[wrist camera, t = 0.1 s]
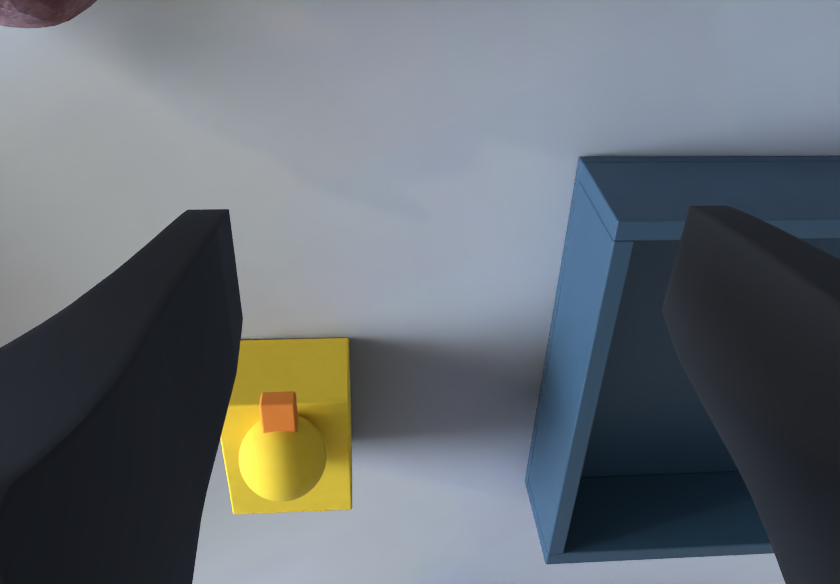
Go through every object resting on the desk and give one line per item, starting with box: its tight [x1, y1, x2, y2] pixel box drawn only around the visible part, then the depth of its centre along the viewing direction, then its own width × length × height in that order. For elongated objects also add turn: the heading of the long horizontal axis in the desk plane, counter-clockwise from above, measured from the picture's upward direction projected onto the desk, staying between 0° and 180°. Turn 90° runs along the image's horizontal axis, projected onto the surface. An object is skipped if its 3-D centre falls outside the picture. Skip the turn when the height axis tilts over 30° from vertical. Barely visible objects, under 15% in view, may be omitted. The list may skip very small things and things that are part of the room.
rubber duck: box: [220, 338, 352, 514], centre depth 24 cm, size 6×4×5 cm, turn 178°
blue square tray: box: [525, 156, 840, 564], centre depth 25 cm, size 14×14×4 cm
